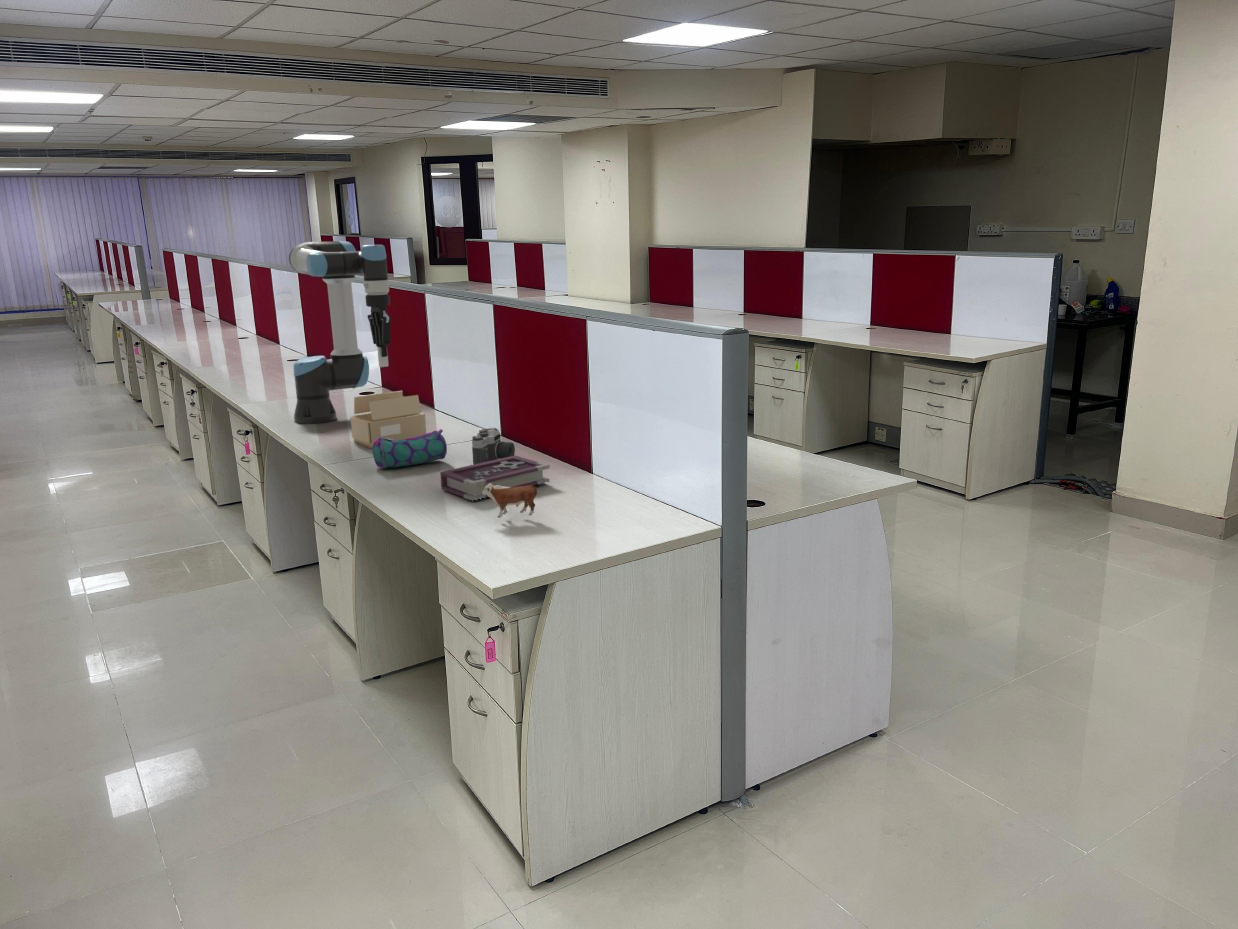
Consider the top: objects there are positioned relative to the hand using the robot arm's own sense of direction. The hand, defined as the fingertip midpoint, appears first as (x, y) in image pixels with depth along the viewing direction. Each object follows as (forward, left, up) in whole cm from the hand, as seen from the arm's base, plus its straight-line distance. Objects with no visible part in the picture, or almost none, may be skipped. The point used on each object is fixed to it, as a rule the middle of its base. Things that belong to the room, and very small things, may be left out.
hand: (383, 366), depth 292 cm
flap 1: (-7, 0, -16) cm, 17 cm away
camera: (+49, +11, -26) cm, 56 cm away
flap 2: (+7, 0, -16) cm, 17 cm away
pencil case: (+33, -9, -26) cm, 43 cm away
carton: (0, 0, -25) cm, 25 cm away
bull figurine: (+96, -14, -26) cm, 100 cm away
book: (+70, -2, -26) cm, 75 cm away
